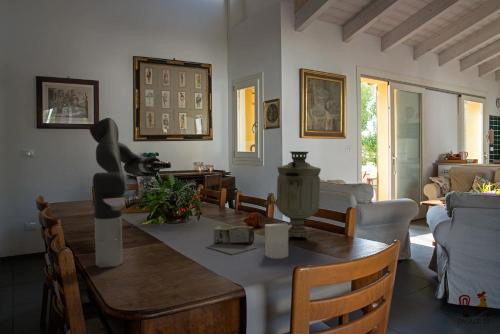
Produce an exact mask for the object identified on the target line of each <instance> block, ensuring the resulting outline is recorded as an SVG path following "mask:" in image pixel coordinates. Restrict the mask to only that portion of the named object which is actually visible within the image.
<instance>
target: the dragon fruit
mask: <svg viewBox="0 0 500 334" xmlns="http://www.w3.org/2000/svg"><path fill="white" fill-rule="evenodd" d="M264 221H265V216H264V215H263V214H262V213H261V212H257V211H255V212H252V211H251V212H250V213H249V214H247V215H246V217H245V218H244V220H243V222H244V223H245V225H246V227H254V228H256V227H260V225H262V224H264Z"/></svg>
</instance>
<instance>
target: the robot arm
mask: <svg viewBox="0 0 500 334" xmlns="http://www.w3.org/2000/svg"><path fill="white" fill-rule="evenodd" d="M89 133H90V136H91V137H92V138H93V140H94V141H95V142H96V143H97V145H96V148H95V161H96V163H97V164H98V166H99V167H100V168H101V169H102V170H104V171H105V172H96V173H94V175H93V177H92V190H93V200H94V203H93V204H94V205H93V206H94V243H95V245H94V246H95V247H94V249H95V266H96V267H98V269H100V268H114V267H115V268H116V267H118V266H120V265H121V264H123V261H124V260H123V259H124V255H123V225H122V224H123V219H122V218H123V217H122V215H123V214H122V213H123V212H122V209H121V208H120V207H118V206H114V205H112V204H109V203H107V202H105V201H104V199H114V198H121V197H123V196H124V195H125V192H126V181H125V176H124V172H125V173H126V174H128V175H137V174H140V173H141V172H143V173H151V174H155V173H158V172H159V171H160V170H165V169H171V168H172V164H171V162H169V161H168V162H166V161H162V160H160V158H158V157H154V156H153V157H152V156H149V157H147V156H146V157H142V156H140V155H138V154H136V153H134V152H133V151H132V150H131V149H130V148H129V146H128V145H126V144H124V143H122V142H119V128H118V125H117V123H116V121H114V119H113V118H111V117H106V118H102V119H100V120H99V121H96V122H95V123H93V124H91V125H89ZM122 163H123V164H124V166H123V167H122ZM122 168H123V169H122ZM123 170H124V172H123Z"/></svg>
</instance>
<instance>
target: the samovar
mask: <svg viewBox="0 0 500 334" xmlns="http://www.w3.org/2000/svg"><path fill="white" fill-rule="evenodd" d="M289 153H290V154H291V160H292V161H290V162H288V164H285V165H284V164H283V165H279V166H277V168H276V169H277V171H278V176H277V185H276V199H275V200H272V197H273V196H275V194H274V193H273V192H268V193H267V196H268V197H269V199H268V200H267V201H265V202H264V203H263V206H267V205H269V206H271V205H272V204H273V205H274V204H275V206H276V209H278V212H280V214H282V215H283V216H284V217H286V218H289V223H290V224H291V225H292V226H291V227H288V240H290V239H291V238H292V237H295V238H297V237H298V238H301V237H302V238H304V239H305V240H306V241H307V242H310V241H311V238H310V237H311V234H310V231H309V230H308V229H307V228H306V227H304V225H306V219H309V218H312V216H313V215H315V214H316V213H317V212H318V211H319V207H320V189H321V188H320V184H321V178H320V174H321V170H322V169H321V168H320V167H317V166H313V165H311V164H310V163H309V162H306V160H307V156H308V154H309V151H289ZM309 236H310V237H309Z"/></svg>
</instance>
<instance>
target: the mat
mask: <svg viewBox="0 0 500 334" xmlns="http://www.w3.org/2000/svg"><path fill="white" fill-rule="evenodd" d="M206 249H209V250H212V249H213V251H216V252H219V253H223V254H227V255H230V254H231V255H230V256H233V254H234V255H237V254H240V253H244V251H245V252H248V250H249V251H252V250H256V249H258V247H256V246H252V245H240V244H225V243H215V244H213V245H209V246H206Z"/></svg>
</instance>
